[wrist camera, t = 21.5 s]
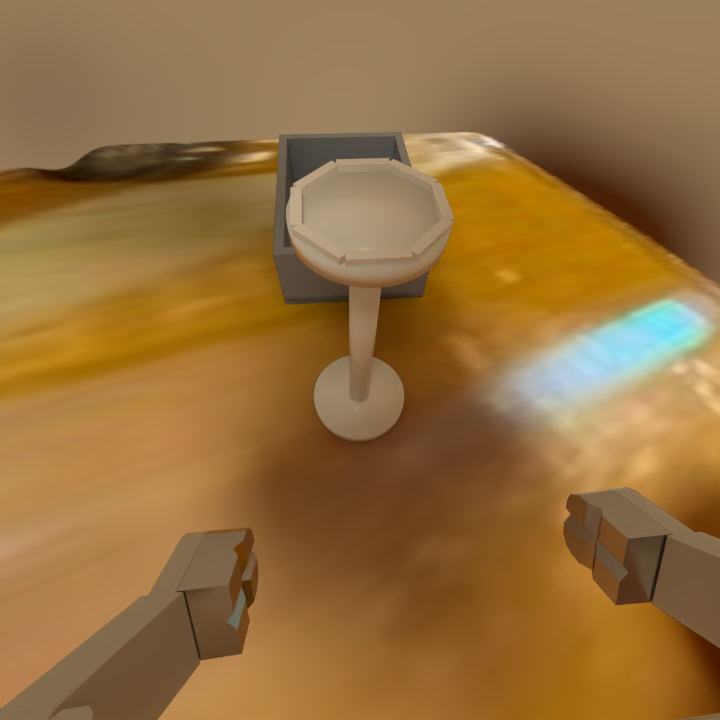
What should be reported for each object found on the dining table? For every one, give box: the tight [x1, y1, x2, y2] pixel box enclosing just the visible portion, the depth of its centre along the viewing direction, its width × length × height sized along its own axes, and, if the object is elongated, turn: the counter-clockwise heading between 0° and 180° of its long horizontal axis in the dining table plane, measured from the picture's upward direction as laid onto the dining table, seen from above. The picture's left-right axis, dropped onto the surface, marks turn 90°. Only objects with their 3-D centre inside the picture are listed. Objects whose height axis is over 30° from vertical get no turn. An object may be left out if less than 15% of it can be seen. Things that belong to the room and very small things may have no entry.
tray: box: [273, 132, 429, 304], centre depth 33 cm, size 13×18×6 cm
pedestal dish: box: [286, 158, 454, 442], centre depth 19 cm, size 7×7×17 cm
